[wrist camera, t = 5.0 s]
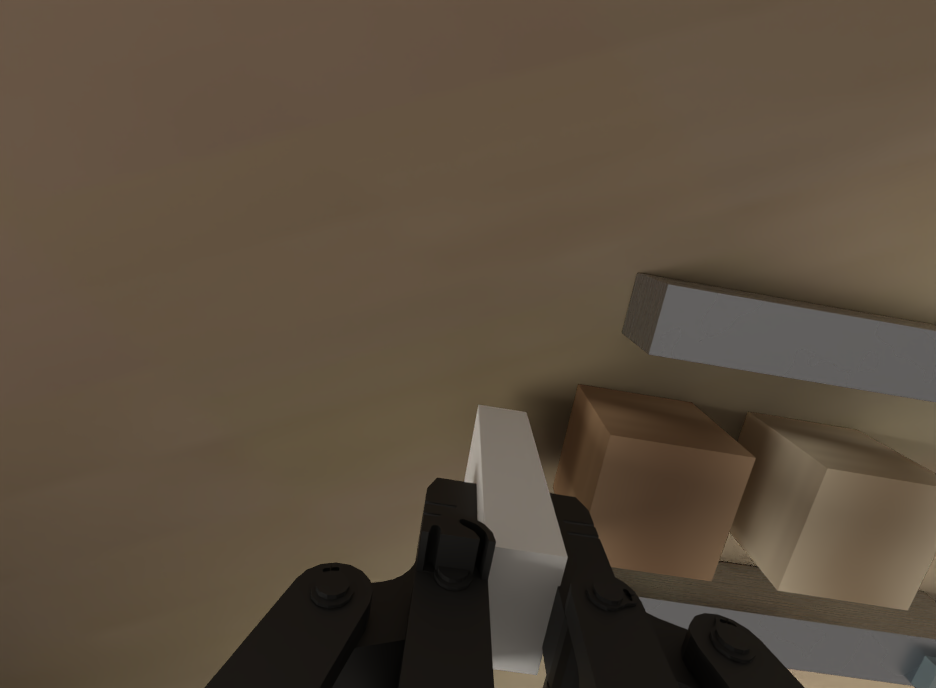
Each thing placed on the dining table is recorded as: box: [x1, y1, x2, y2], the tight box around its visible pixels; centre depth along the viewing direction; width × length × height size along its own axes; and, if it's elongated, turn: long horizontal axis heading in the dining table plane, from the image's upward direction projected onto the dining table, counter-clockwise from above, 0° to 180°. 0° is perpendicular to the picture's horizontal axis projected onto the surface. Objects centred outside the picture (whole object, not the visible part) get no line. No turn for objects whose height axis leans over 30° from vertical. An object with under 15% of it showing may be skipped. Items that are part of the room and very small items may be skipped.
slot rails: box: [611, 273, 936, 686], centre depth 16 cm, size 14×12×2 cm
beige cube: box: [730, 411, 936, 611], centre depth 16 cm, size 4×4×4 cm
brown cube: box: [553, 384, 756, 582], centre depth 16 cm, size 4×4×4 cm
